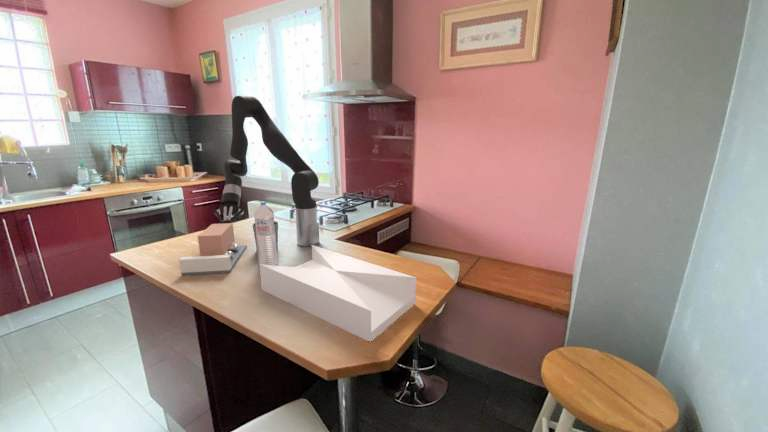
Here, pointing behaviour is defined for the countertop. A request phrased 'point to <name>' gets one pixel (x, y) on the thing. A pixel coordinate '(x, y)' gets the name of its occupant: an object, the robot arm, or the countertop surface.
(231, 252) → the front roller
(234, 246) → the rear roller
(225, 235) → the terracotta block
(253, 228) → the grey pot
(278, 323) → the countertop surface
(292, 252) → the countertop surface
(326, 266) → the building model
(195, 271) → the grey piece
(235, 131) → the robot arm
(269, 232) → the water bottle
